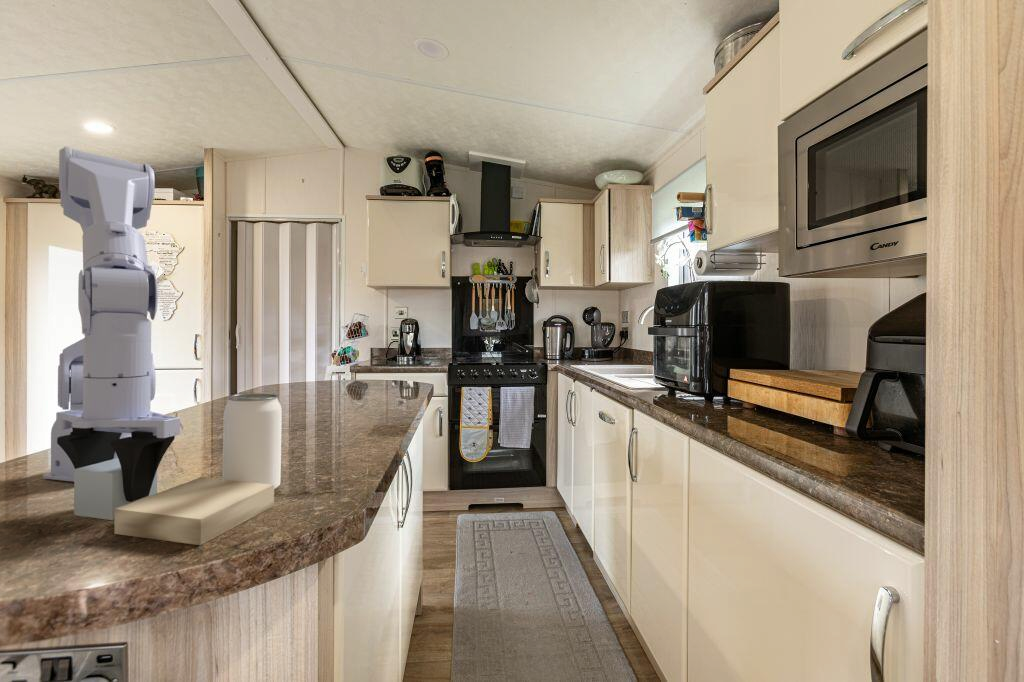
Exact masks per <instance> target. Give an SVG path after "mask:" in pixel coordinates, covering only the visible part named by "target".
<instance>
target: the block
mask: <svg viewBox="0 0 1024 682" xmlns="http://www.w3.org/2000/svg"><path fill="white" fill-rule="evenodd" d="M73 483H74V487H73V493H74V495H73V504H74V505H73V515H74V516H78V517H85V518H93V519H94V518H95V519H100V520H101V519H102V520H110V521H114V520H115V509H116V508H118V507H121V506H124V505H127V504H129V503H132V502H128V501H126V498H125V495H124V489H123V475H122V470H121V465H120V462H119V459H118V458H116V459H112V460H108V461H104V462H101V463H97V464H93V465H89V466H85V467H81V468H78V469H74V482H73ZM157 493H158V470H157V471H156V474H155V477H154V480H153V483H152V486H151V490H150V493H149V496H151V495H154V494H157ZM147 497H148V496H147ZM144 498H146V497H144ZM141 499H143V498H141ZM139 500H140V499H139ZM136 501H137V500H136ZM133 502H135V501H133Z"/></svg>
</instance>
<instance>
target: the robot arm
mask: <svg viewBox="0 0 1024 682" xmlns="http://www.w3.org/2000/svg"><path fill="white" fill-rule="evenodd" d="M58 152H59V153H58V154H59V155H58V166H59V167H58V174H59V177H58V187H59V188H58V190H59V191H60V207H61V208H62V209H63V210H62V211H63V213H62V214H63V216H65V217H67V218H68V219H70V220H72V221H74V222H76V223H78V224H79V225H80V228H81V230H82V237H81V238H82V267H83V268H82V269H80V271H79V274H78V282H77V283H78V287H77V288H78V298H77V300H78V301H77V304H78V311H79V315H80V320H81V334H82V335H83V336H84V338H82V339H80V340H77V341H76V342H74V343H72V344H70V345H68V346H67V347H65V348H64V349H62V352H61V353H59V365H58V366H57V406H58V407H60V408H61V410H63V411H57V412H56V419H55V421H54V422H53V424H52V427H51V430H50V472H48V473H44V474H42V479H47V480H55V481H56V480H57V481H63V482H72V483H74V469H78V468H81V467H85V466H89V465H93V464H97V463H101V462H104V461H108V460H112V459H116V458H118V459H119V462H120V465H121V470H122V475H123V489H124V495H125V498H126V501H128V502H133V501H136V500H139V499H141V498H144V497H147V496H149V493H150V490H151V486H152V483H153V480H154V477H155V474H156V471H157V472H158V469H159V466H160V464H161V461H162V460H163V457H164V456H165V454H166V453H167V450H168V449H169V448H170V446H171V445H172V444H173V442H174V441H175V436H179V435H180V434H181V417H180V416H172V415H166V414H162V413H160V412H155V411H152V410H151V402H152V401H153V400H154V399H155V395H156V385H157V384H156V368H155V364H154V357H153V353H152V321H154V320H155V319H156V318H155V317H156V314H157V311H158V307H159V306H158V305H159V285H158V280H157V276H156V272H155V271H154V269H153V266H152V265H149V262H148V254H147V247H146V239H145V237H144V235H143V234H142V232H141V231H139V230H140V229H142V228H146V227H147V226H148V225H147V223H148V221H149V220H151V219H150V217H151V211H152V206H153V204H154V198H155V184H156V183H155V182H156V181H155V180H156V179H155V178H156V177H155V171H154V169H153V168H152V167H151V166H150V164H147V163H143V164H142V163H138V162H134V161H133V162H132V161H128V160H124V159H121V158H120V159H119V158H115V157H109V156H105V155H100V154H97V153H91V152H88V151H81V150H78V149H73V148H72V149H71V147H70V146H63V147H62V148H59V150H58ZM148 314H149V317H150V319H151V320H152V321H151V320H150V319H149V318H148Z"/></svg>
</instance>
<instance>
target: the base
mask: <svg viewBox="0 0 1024 682" xmlns="http://www.w3.org/2000/svg"><path fill="white" fill-rule="evenodd" d="M273 507H275V490H274V485H271V484H262V483H252V482H242V481H232V480H223V478H222V479H221V478H212V477H211V478H210V477H197V478H195V479H193V480H189V481H187V482H184V483H182V484H179V485H176V486H173V487H171V488H168V489H165V490H162V491H160V492H157V494H154V495H151V496H148V497H146V498H143V499H140V500H137V501H135V502H132V503H129V504H127V505H124V506H121V507H118V508H116V509H115V519H114V534H115V535H121V536H128V537H135V538H144V539H150V540H151V539H152V540H158V541H164V542H165V541H166V542H173V543H180V544H181V543H182V544H188V545H195V546H196V545H197V546H202V545H204V544H206V543H208V542H210V541H211V540H213V539H215V538H217V537H219V536H221V535H222V534H225V533H227V532H228V531H230V530H232V529H234V528H236V527H237V526H240V525H241V524H243V523H245V522H246V521H248V520H250V519H253V518H254V517H257V516H258V515H260V514H262V513H264V512H265V511H267V510H269V509H271V508H273Z"/></svg>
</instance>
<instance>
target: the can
mask: <svg viewBox="0 0 1024 682" xmlns="http://www.w3.org/2000/svg"><path fill="white" fill-rule="evenodd" d="M227 400H228V401H227V404H226V405H225V407H224V409H223V420H222V421H223V424H222V425H223V426H222V427H223V429H222V479H223V480H232V481H242V482H252V483H262V484H271V485H274V491H276V490H277V489H278V487H279V486H280V485H281V474H282V473H281V471H282V464H281V463H282V421H283V419H282V415H283V413H282V411H283V410H282V406H281V403H280V402H279V394H275V393H264V392H263V393H262V392H261V393H259V392H258V393H241V394H233V395H230V396H228V397H227Z"/></svg>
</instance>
